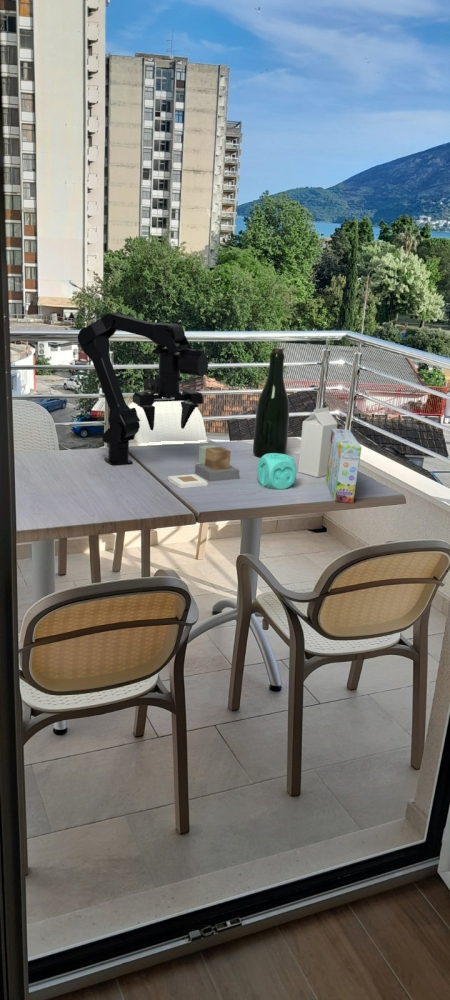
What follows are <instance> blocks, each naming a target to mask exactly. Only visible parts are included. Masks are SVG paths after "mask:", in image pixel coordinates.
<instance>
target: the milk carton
mask: <svg viewBox="0 0 450 1000" xmlns="http://www.w3.org/2000/svg"><path fill="white" fill-rule="evenodd" d="M329 410H330V407H329V406H327V407H322V408H320V407H319V408H314V409H313V412H311V413H310V414H309V416H308V417H306V418H305V419H304V420H303V421H302V428H301V437H300V438H301V439H300V446H299V447H300V449H299V450H300V451H299V461H298V468H297V469H298V471H297V473H300V474H304V475H307V476H311V477H315V478H321V477H326V473H327V465H328V457H329V449H330V440H331V431H332V429H338V421H336V419H335V418H334V417H333V414H331V412H330V411H329Z"/></svg>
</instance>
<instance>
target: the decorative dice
mask: <svg viewBox="0 0 450 1000" xmlns="http://www.w3.org/2000/svg"><path fill="white" fill-rule="evenodd" d="M256 471H257V472H256V473H257V474H256V476H257V479H258V483H259V484H260V486H262V487H263V488H265V489H266V488H267V489H269V490H270V489H271V490H286V489H289V488H290V487H291V486H293V484H294V482H295V481H296V478H297V465H296V462H295V460H294V458H293V457H292V456H291V455H288V454H286V455H285V454H279V453H269V454H265V455H263V456H262V457H260V458H259V460H258V463H257V468H256Z"/></svg>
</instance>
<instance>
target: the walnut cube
mask: <svg viewBox="0 0 450 1000" xmlns="http://www.w3.org/2000/svg"><path fill="white" fill-rule="evenodd" d="M231 452H232V451H231V450H229V449H227V448H225V447H223V446H217V447H213V448H206V456H205V466H207V467H209V468H211V469H213V470H221V469H230V466H231Z"/></svg>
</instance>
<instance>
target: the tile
mask: <svg viewBox="0 0 450 1000" xmlns="http://www.w3.org/2000/svg"><path fill="white" fill-rule="evenodd" d="M167 481H168V482H170V483H172V484H173V485H174V486H176V487H178V488H179V489H187V488H196V487H197V488H198V487H206V486H209V483H208V482H209V481H208V480H206V479H204V478H203V477H201V476H199V475H198V474H196V473H192V474H180V475H169V476H167Z"/></svg>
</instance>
